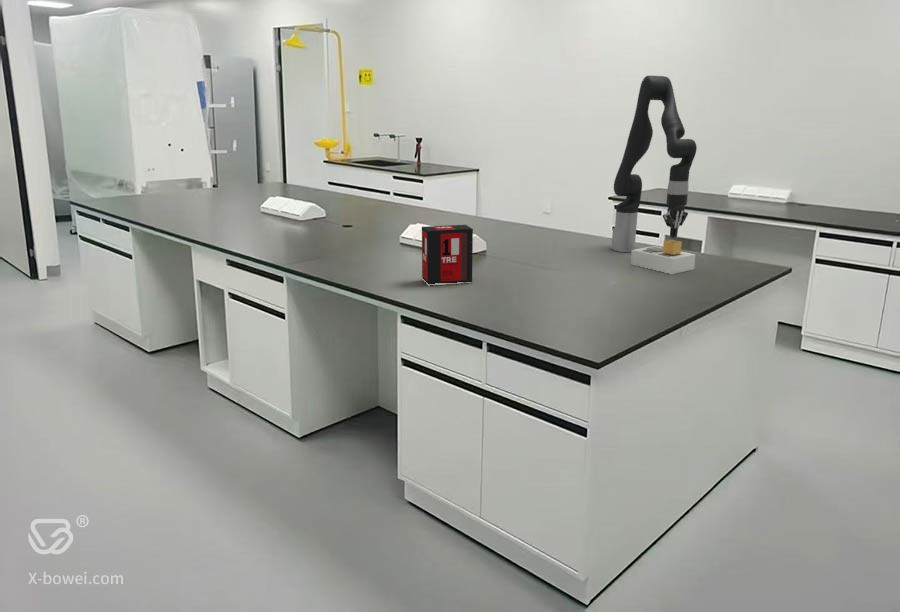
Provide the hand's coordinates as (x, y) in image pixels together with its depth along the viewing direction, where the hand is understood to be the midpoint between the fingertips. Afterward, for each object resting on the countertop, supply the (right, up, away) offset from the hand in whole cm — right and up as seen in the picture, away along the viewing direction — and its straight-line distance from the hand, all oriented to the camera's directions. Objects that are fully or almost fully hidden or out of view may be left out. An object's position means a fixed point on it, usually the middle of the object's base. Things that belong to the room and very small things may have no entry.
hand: (673, 237), depth 266 cm
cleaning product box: (-88, -18, -16) cm, 92 cm away
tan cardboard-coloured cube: (0, -6, +2) cm, 6 cm away
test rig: (-2, -11, +7) cm, 13 cm away
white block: (-5, -8, +9) cm, 13 cm away
